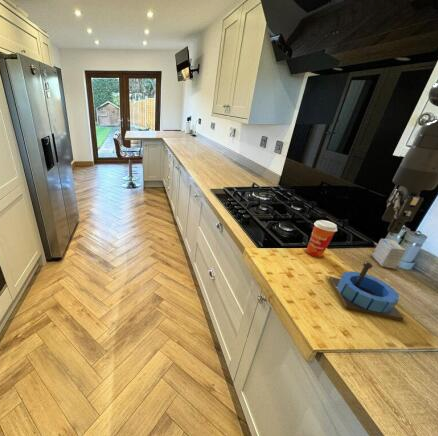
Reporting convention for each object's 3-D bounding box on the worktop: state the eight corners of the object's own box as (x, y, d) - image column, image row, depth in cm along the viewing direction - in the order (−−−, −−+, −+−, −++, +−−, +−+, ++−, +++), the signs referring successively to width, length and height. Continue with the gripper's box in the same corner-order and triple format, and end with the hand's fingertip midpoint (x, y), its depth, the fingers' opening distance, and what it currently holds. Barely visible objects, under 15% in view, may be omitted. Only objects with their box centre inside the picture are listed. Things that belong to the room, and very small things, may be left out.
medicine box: (395, 269, 90) (407, 250, 86) (381, 266, 91) (392, 248, 87) (384, 258, 97) (394, 240, 93) (370, 255, 98) (380, 237, 94)
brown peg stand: (376, 288, 80) (395, 256, 74) (402, 321, 68) (428, 286, 62) (328, 279, 83) (344, 247, 77) (345, 308, 71) (364, 273, 65)
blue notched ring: (377, 286, 79) (383, 277, 77) (402, 317, 67) (410, 307, 65) (330, 277, 82) (335, 267, 81) (347, 305, 71) (353, 295, 69)
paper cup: (299, 249, 100) (310, 220, 94) (312, 247, 102) (324, 218, 96) (315, 260, 93) (329, 229, 87) (329, 257, 96) (343, 227, 89)
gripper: (457, 176, 49) (415, 242, 56) (434, 164, 60) (402, 221, 67) (407, 169, 53) (374, 232, 60) (394, 160, 64) (368, 214, 71)
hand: (389, 226), depth 63 cm, fingers open, 8 cm apart
